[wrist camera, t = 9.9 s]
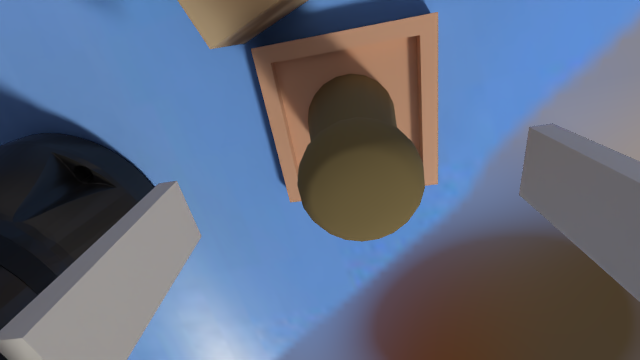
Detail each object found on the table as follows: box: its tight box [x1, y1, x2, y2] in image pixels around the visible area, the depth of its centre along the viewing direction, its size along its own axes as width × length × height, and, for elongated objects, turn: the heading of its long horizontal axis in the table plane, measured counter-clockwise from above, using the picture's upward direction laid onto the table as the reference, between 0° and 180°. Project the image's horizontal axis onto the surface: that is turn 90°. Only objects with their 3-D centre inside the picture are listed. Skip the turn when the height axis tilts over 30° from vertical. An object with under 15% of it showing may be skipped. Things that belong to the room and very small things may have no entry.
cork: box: [297, 74, 425, 241], centre depth 16 cm, size 6×6×11 cm
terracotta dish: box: [251, 12, 438, 202], centre depth 20 cm, size 11×11×1 cm
